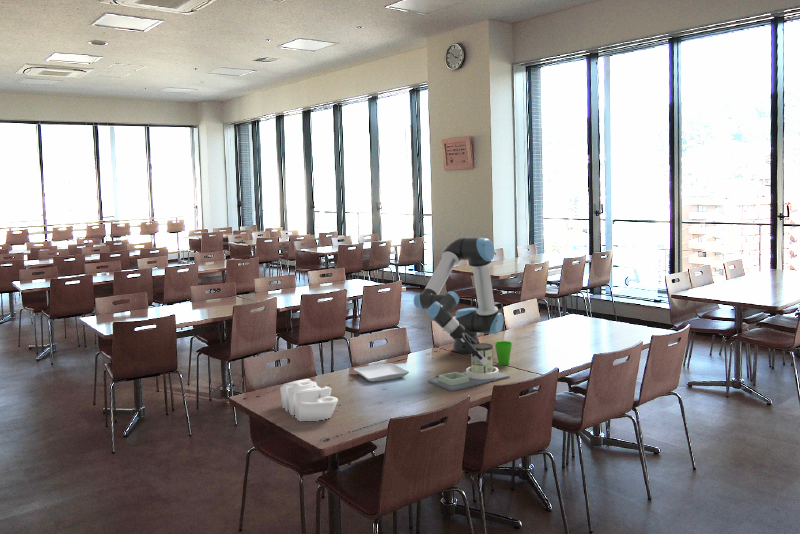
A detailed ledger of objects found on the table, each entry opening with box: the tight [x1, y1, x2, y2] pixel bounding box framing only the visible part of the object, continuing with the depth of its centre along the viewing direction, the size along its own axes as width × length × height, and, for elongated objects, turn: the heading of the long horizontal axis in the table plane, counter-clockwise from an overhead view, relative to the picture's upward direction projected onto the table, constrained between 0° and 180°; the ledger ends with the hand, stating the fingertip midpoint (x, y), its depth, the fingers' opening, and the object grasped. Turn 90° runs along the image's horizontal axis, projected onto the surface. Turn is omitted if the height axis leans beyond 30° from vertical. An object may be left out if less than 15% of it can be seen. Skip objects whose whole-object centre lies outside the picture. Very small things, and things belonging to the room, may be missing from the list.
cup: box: [494, 340, 513, 366], centre depth 340 cm, size 9×9×11 cm
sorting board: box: [428, 366, 510, 392], centre depth 315 cm, size 18×34×4 cm, turn 123°
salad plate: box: [353, 362, 410, 383], centre depth 326 cm, size 21×21×3 cm
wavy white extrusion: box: [279, 378, 339, 422], centre depth 277 cm, size 35×16×10 cm, turn 26°
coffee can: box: [470, 342, 494, 373], centre depth 319 cm, size 10×10×14 cm
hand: (486, 359), depth 318 cm, fingers open, 13 cm apart
